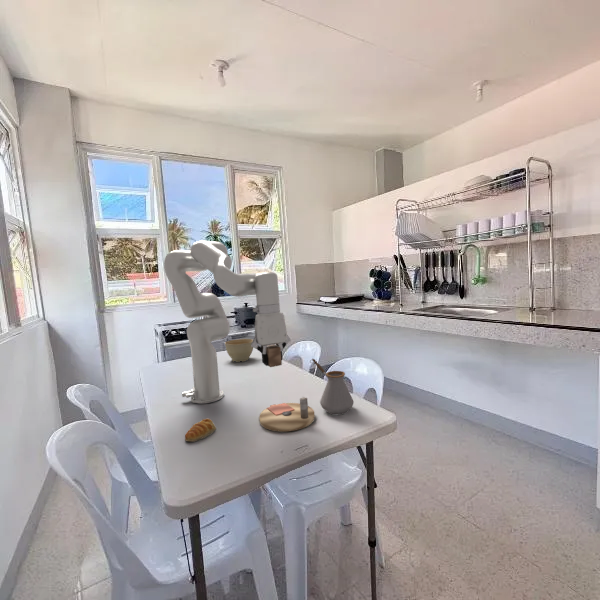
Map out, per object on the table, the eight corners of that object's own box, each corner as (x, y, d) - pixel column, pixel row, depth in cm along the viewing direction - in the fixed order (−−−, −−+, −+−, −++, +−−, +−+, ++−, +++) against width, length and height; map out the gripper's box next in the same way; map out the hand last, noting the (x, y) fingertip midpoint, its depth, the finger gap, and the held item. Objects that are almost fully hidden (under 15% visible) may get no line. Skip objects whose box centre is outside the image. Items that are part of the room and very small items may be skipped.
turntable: (316, 429, 98) (315, 405, 97) (256, 433, 97) (255, 409, 97) (312, 405, 116) (311, 385, 115) (262, 408, 115) (260, 388, 114)
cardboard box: (270, 367, 105) (268, 348, 105) (264, 363, 111) (262, 345, 110) (281, 365, 107) (280, 346, 107) (275, 361, 112) (273, 343, 112)
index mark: (273, 410, 114) (273, 408, 114) (270, 406, 117) (270, 405, 117) (279, 408, 115) (279, 407, 115) (275, 405, 118) (275, 404, 118)
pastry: (196, 445, 93) (194, 433, 93) (179, 441, 96) (177, 429, 96) (218, 430, 101) (217, 419, 101) (201, 427, 104) (200, 416, 104)
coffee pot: (360, 411, 109) (359, 368, 108) (332, 420, 104) (330, 374, 103) (326, 392, 128) (324, 355, 127) (300, 399, 123) (298, 360, 121)
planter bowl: (260, 357, 188) (259, 339, 187) (242, 365, 174) (241, 345, 173) (239, 355, 196) (238, 337, 195) (220, 362, 182) (218, 343, 182)
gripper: (247, 313, 101) (252, 370, 102) (296, 307, 108) (299, 361, 109) (241, 311, 107) (245, 365, 109) (287, 306, 115) (290, 357, 116)
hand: (272, 363), depth 109 cm, fingers closed on cardboard box, 4 cm apart
